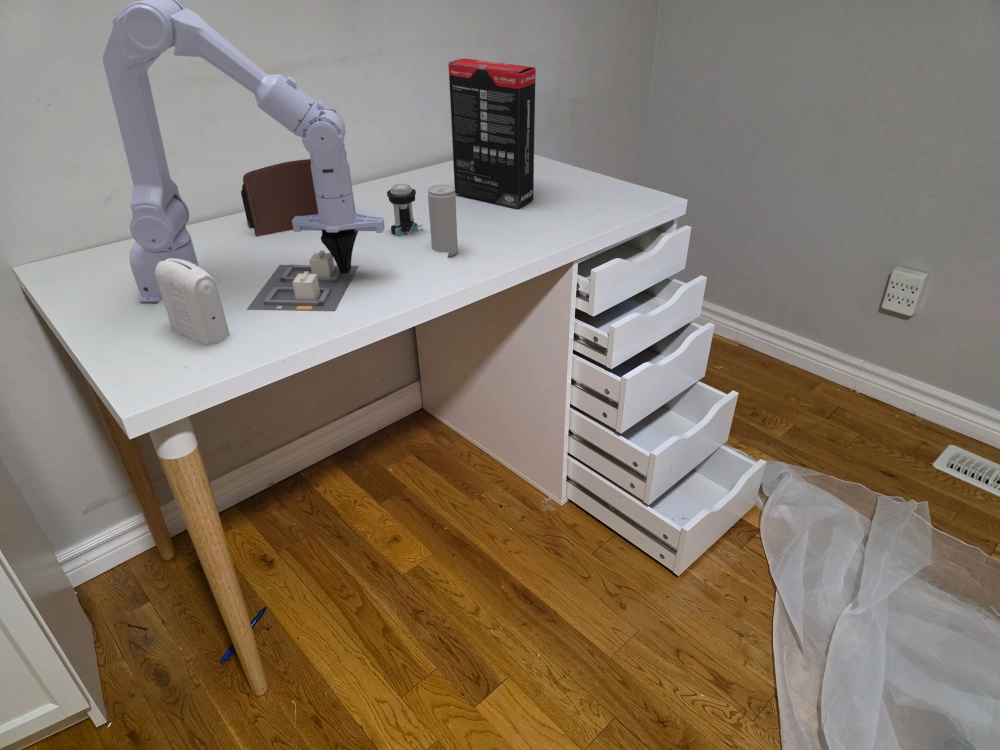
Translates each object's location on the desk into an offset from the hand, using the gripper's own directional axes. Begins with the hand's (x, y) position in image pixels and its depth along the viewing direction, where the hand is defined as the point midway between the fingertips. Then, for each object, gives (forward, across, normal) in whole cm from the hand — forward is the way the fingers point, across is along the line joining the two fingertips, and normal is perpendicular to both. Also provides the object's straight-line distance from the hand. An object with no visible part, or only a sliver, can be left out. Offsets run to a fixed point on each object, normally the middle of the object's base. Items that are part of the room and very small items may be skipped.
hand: (345, 270), depth 116 cm
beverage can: (+2, +15, +12) cm, 20 cm away
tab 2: (+1, -4, 0) cm, 4 cm away
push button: (+2, +7, +20) cm, 21 cm away
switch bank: (+2, -6, -4) cm, 7 cm away
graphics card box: (+2, +22, +40) cm, 46 cm away
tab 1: (+1, -4, -8) cm, 9 cm away
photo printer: (+2, -17, -19) cm, 26 cm away
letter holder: (+3, -15, +25) cm, 30 cm away
